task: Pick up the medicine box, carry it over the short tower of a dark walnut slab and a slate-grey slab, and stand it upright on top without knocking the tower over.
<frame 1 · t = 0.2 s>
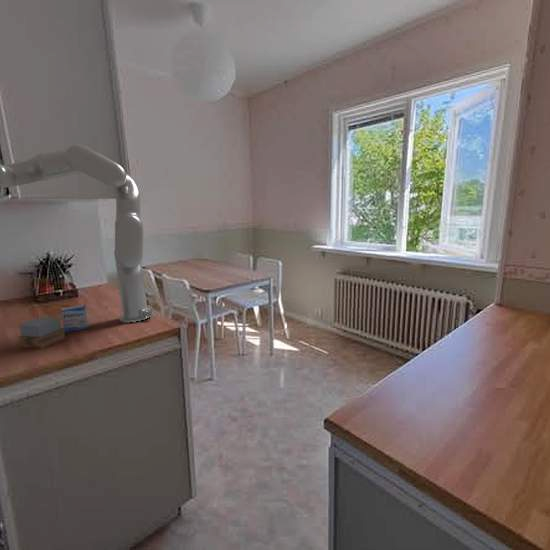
grey slab: (41, 332, 117), point 4 cm above the kitchen counter
medicine box: (76, 329, 130), on the kitchen counter
walnut slab: (44, 343, 118), on the kitchen counter
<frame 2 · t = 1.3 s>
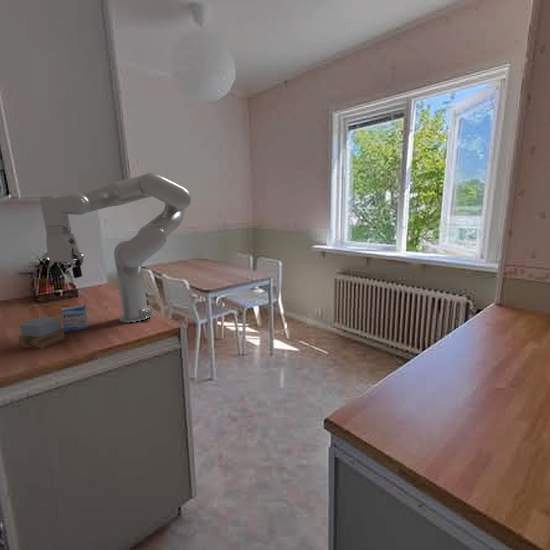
hand: (67, 277, 126), 20 cm above the kitchen counter, tool pointing down, fingers open, 9 cm apart
grey slab: (42, 332, 117), point 4 cm above the kitchen counter, touching walnut slab
walnut slab: (43, 343, 118), on the kitchen counter, touching grey slab
everything else where it was.
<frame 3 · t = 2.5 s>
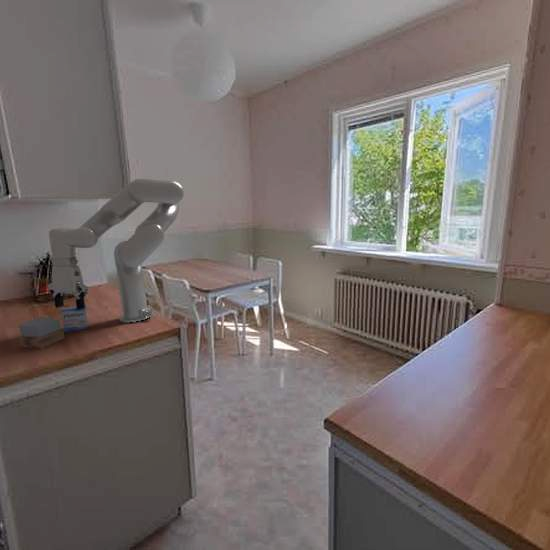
hand: (70, 307, 128), 9 cm above the kitchen counter, tool pointing down, fingers open, 9 cm apart
medicine box: (76, 329, 130), on the kitchen counter, touching gripper
everything else where it was.
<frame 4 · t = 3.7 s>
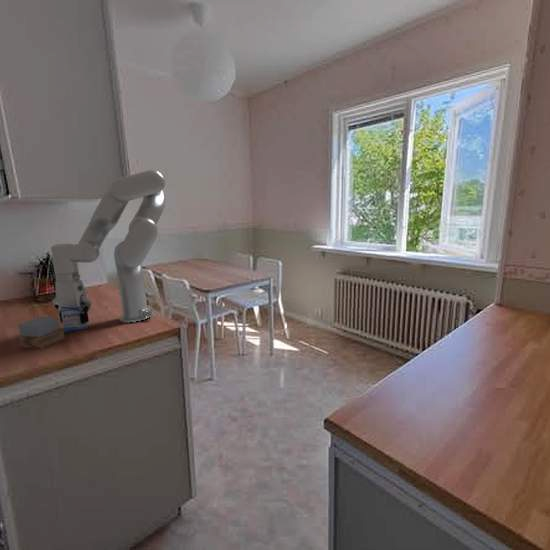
hand: (74, 321, 129), 3 cm above the kitchen counter, tool pointing down, fingers closed on medicine box, 8 cm apart
medicine box: (76, 329, 130), on the kitchen counter, touching gripper
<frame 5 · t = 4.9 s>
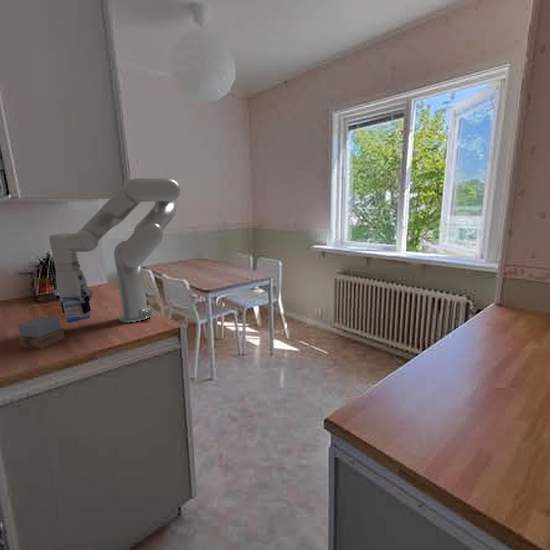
hand: (76, 312, 129), 7 cm above the kitchen counter, tool pointing down, fingers closed on medicine box, 8 cm apart
grey slab: (40, 332, 117), point 4 cm above the kitchen counter
medicine box: (78, 319, 130), point 3 cm above the kitchen counter, touching gripper
walnut slab: (43, 343, 118), on the kitchen counter
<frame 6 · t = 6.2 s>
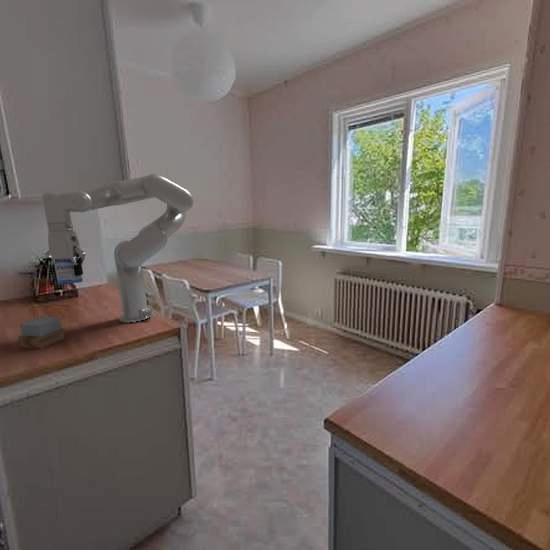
hand: (68, 275, 126), 21 cm above the kitchen counter, tool pointing down, fingers closed on medicine box, 8 cm apart
grey slab: (42, 332, 118), point 4 cm above the kitchen counter, touching walnut slab
medicine box: (70, 283, 127), point 18 cm above the kitchen counter, touching gripper
walnut slab: (43, 343, 118), on the kitchen counter, touching grey slab
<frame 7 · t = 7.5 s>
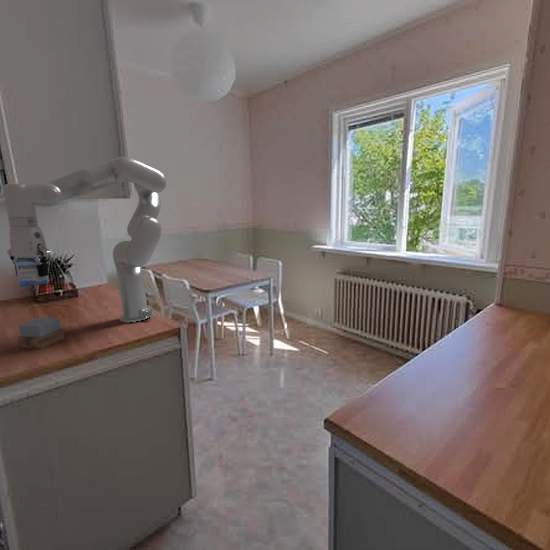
hand: (32, 275, 114), 23 cm above the kitchen counter, tool pointing down, fingers closed on medicine box, 8 cm apart
medicine box: (34, 284, 115), point 20 cm above the kitchen counter, touching gripper
when the fingers open (11 cm above the kitchen counter, at t = 9.8 s): medicine box drops 1 cm, resting on grey slab.
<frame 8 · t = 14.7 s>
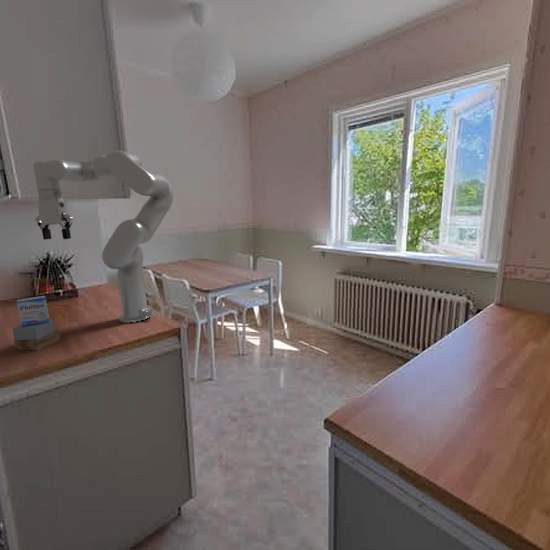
hand: (57, 239, 136), 33 cm above the kitchen counter, tool pointing down, fingers open, 9 cm apart
grey slab: (35, 335, 115), point 3 cm above the kitchen counter, touching medicine box, walnut slab
medicine box: (35, 323, 115), point 7 cm above the kitchen counter, touching grey slab
walnut slab: (39, 345, 117), on the kitchen counter, touching grey slab
at the end: medicine box 0.7 cm off-centre on the grey slab, point 3.8 cm above the grey slab's base; medicine box tilted 1°; grey slab 0.5 cm off-centre on the walnut slab, point 4.0 cm above the walnut slab's base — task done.
